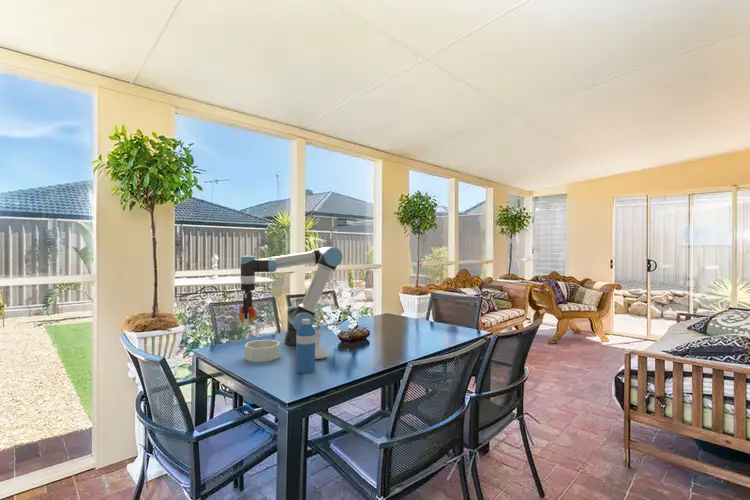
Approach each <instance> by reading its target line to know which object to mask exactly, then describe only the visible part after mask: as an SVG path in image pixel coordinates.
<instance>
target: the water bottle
mask: <svg viewBox="0 0 750 500" xmlns="http://www.w3.org/2000/svg"><path fill="white" fill-rule="evenodd" d="M315 332H316V329H315V328H314V327H313V326H311V324H310V319H302V324H301V325H300V327H299V328H298V329H297V331H296V345H295V346H296V347H295V352H296V353H295V371H296V373H298V374H304V375H305V374H311V373H313V372H315V371H316V359H315V344H316V340H315Z"/></svg>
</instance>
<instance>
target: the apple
mask: <svg viewBox="0 0 750 500" xmlns="http://www.w3.org/2000/svg"><path fill="white" fill-rule="evenodd" d="M242 312H243V306H241V307H240V309H239V312H238V318H239V320H240V322H241V323H242V324H244V313H242ZM248 313H249V325H250V324H252V323H253V322H255V321H256V319H257V315H258V313H257V310H256V308H255V307H254V306H253V307H249V310H248Z"/></svg>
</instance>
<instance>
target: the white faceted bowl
mask: <svg viewBox="0 0 750 500" xmlns="http://www.w3.org/2000/svg"><path fill="white" fill-rule="evenodd" d="M280 348H281V343H280V341H278V340H275V339H256V340H252V341H248V342H246V343H245V345H244V348H243V349H244V350H243V351H244V353H243V356H244V357H243V359H244V360H245V361H249V362H253V363H259V362H262V363H263V362H269V361H273V360H276V359H279V358H280V356H281V353H280V351H281V349H280Z"/></svg>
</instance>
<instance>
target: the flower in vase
mask: <svg viewBox="0 0 750 500" xmlns="http://www.w3.org/2000/svg"><path fill="white" fill-rule="evenodd" d="M318 314H319V316H320V319H319V321H318V323H317V327H316V328H315V360H322V359H325V358H327V357H328V355H329V354H328V352H327V351H326V350H325V348H323V347H321V341H320V340H321V336H322V334H323V332H322V331H319V330H320V329H321V326H320V325H319V324H320V322H321V320H322V321H323V322H324V324H325V325H326V324H327V320H326V318H325V317H324V316H323V313H322V311H319V313H318Z"/></svg>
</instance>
